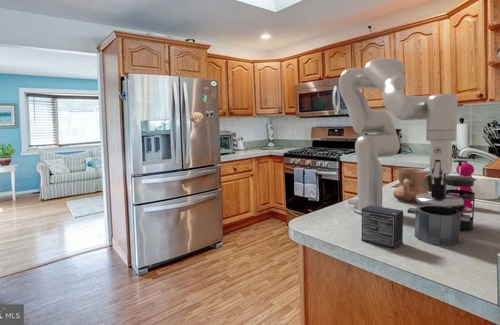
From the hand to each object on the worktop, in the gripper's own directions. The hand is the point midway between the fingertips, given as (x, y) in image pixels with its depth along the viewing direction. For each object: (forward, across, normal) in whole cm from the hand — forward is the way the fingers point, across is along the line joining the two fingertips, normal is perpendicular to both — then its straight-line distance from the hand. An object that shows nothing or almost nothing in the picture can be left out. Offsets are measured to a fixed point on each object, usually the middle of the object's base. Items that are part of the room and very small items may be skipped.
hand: (438, 195), depth 92 cm
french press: (+14, +15, -4) cm, 21 cm away
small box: (+14, -12, +13) cm, 23 cm away
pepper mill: (+14, +43, -4) cm, 45 cm away
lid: (+2, 0, 0) cm, 2 cm away
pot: (+14, 0, 0) cm, 14 cm away
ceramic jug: (+14, +44, +16) cm, 49 cm away
